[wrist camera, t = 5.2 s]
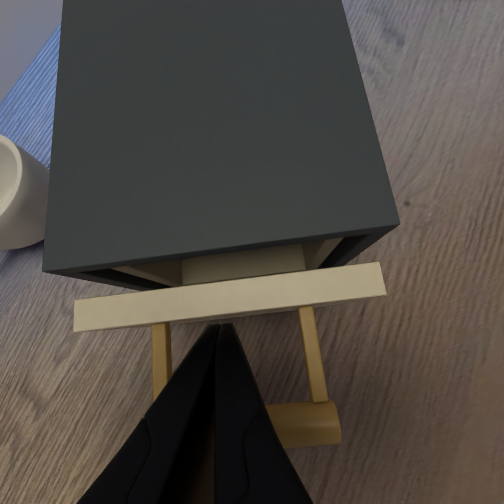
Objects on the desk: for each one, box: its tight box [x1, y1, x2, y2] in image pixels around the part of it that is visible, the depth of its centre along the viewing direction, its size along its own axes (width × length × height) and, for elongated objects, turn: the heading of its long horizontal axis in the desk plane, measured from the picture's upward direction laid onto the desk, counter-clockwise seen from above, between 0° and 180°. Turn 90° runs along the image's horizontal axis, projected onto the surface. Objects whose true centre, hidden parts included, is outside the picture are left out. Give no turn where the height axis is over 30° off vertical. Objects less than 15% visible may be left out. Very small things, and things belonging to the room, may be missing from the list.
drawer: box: [73, 238, 387, 449], centre depth 15 cm, size 17×11×9 cm, turn 7°
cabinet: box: [42, 0, 400, 291], centre depth 16 cm, size 14×13×11 cm
